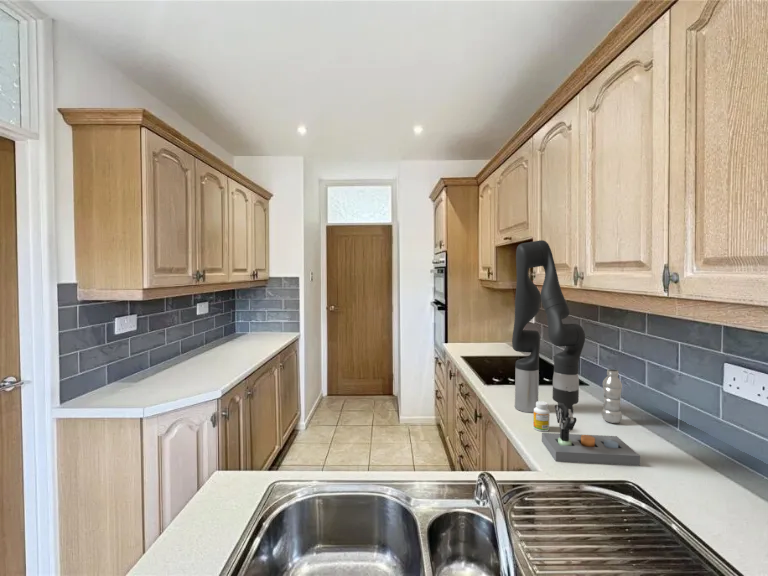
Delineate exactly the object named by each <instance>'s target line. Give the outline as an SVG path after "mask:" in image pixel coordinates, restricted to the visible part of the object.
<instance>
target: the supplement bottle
mask: <svg viewBox="0 0 768 576" xmlns="http://www.w3.org/2000/svg"><path fill="white" fill-rule="evenodd" d="M548 407H549V405H548V402H546V401H542V400H538V401H537V402H536V407H535V408H534V412H533V424H532V425H533V429H534V430H535V431H538V432H542V433H546V432H548V431H549V430H550V409H549V408H548Z"/></svg>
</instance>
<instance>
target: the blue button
mask: <svg viewBox="0 0 768 576" xmlns="http://www.w3.org/2000/svg"><path fill="white" fill-rule="evenodd" d="M604 445H605V446H606V447H607V448H618V443H617V442H615V441H612V440H604Z"/></svg>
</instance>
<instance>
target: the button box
mask: <svg viewBox="0 0 768 576" xmlns="http://www.w3.org/2000/svg"><path fill="white" fill-rule="evenodd" d="M581 435H582V434H575V433H569V439H571V440H572V446H564V445H559V444H558V438H560V432H559V433H557V432H556V433H555V432H554V433H553V432H551V433H550V432H541V442H542V444H543V445H544V447H545V448H546V450H547V451H548V452H549V454H550V455H551V457H552V459H553V460H554V461H555V462H558V463H559V462H561V463H579V464H598V465H616V466H635V467H636V466H637V467H641V466H640V465H641V455H640V454H639V453H637V452H636V451H635V450H634V449H633V448H632V447H630V446H629V445H628V444H627V443H626V442H625V441H623V440H622V439H621V438H620V437H618V435H599V434H598V435H597V434H589V435H590V436H593V437H594V438H595V447H585V446H582V445H581ZM604 440H612V441H615V442H617V443H618V448H607V447H606V446H605V445H604Z"/></svg>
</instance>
